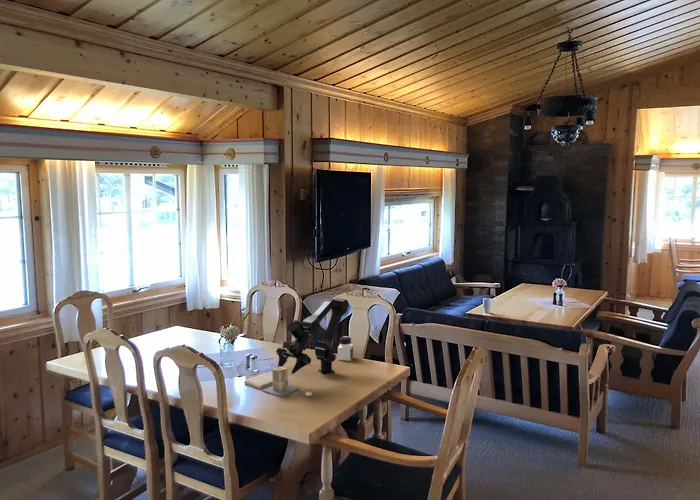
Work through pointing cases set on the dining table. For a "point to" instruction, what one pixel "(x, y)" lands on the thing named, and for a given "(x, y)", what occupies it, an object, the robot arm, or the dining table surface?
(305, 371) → the dining table surface
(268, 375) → the washcloth
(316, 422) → the dining table surface
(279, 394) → the mat
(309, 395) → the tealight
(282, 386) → the beige tall block
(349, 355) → the medicine bottle
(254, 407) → the dining table surface
